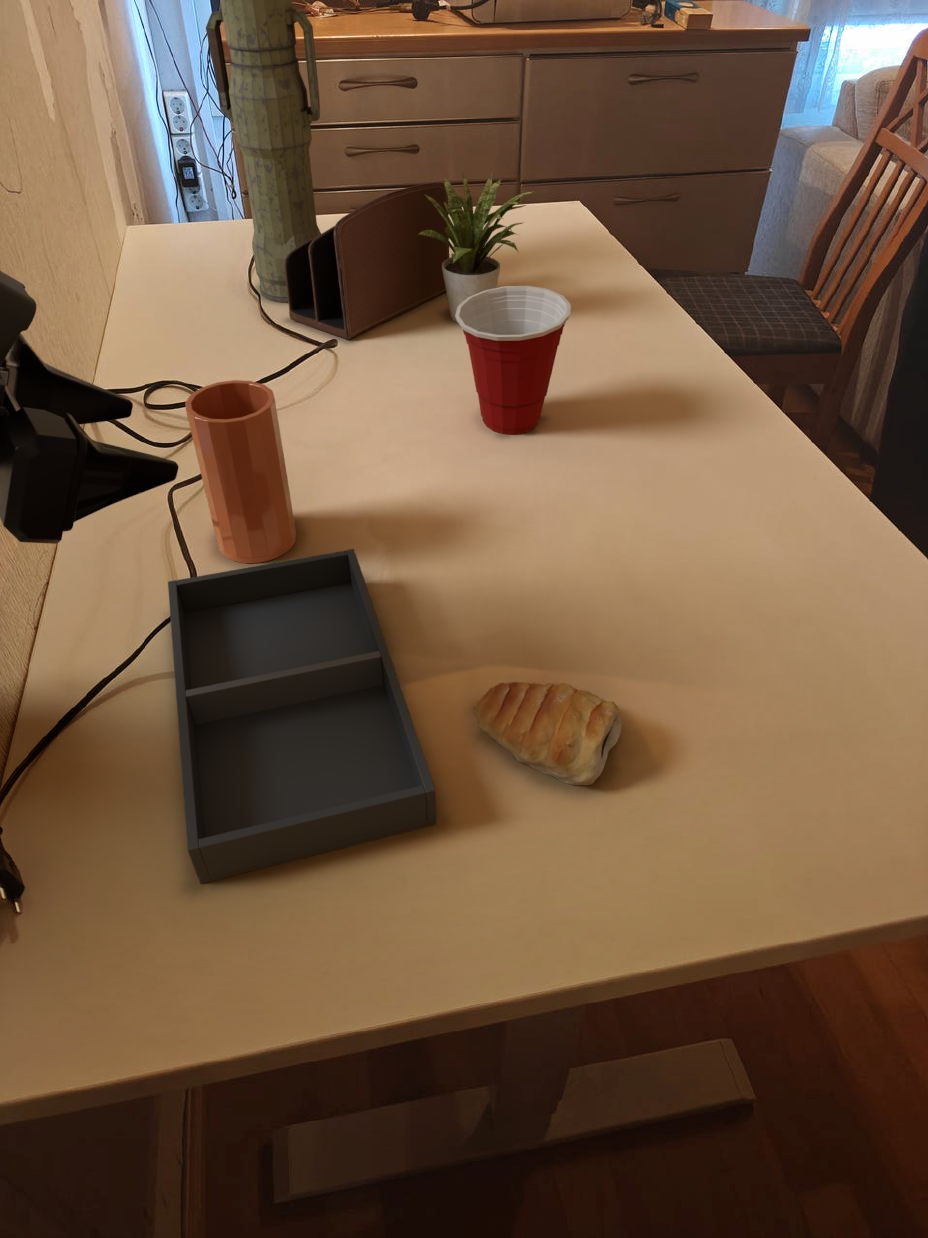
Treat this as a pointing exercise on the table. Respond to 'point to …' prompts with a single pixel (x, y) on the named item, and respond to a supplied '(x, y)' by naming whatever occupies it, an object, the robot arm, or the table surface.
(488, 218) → the house plant
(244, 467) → the cup
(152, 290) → the table surface
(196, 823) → the tray
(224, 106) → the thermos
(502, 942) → the table surface
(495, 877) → the table surface
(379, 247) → the letter holder
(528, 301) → the plastic cup
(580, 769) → the pastry
